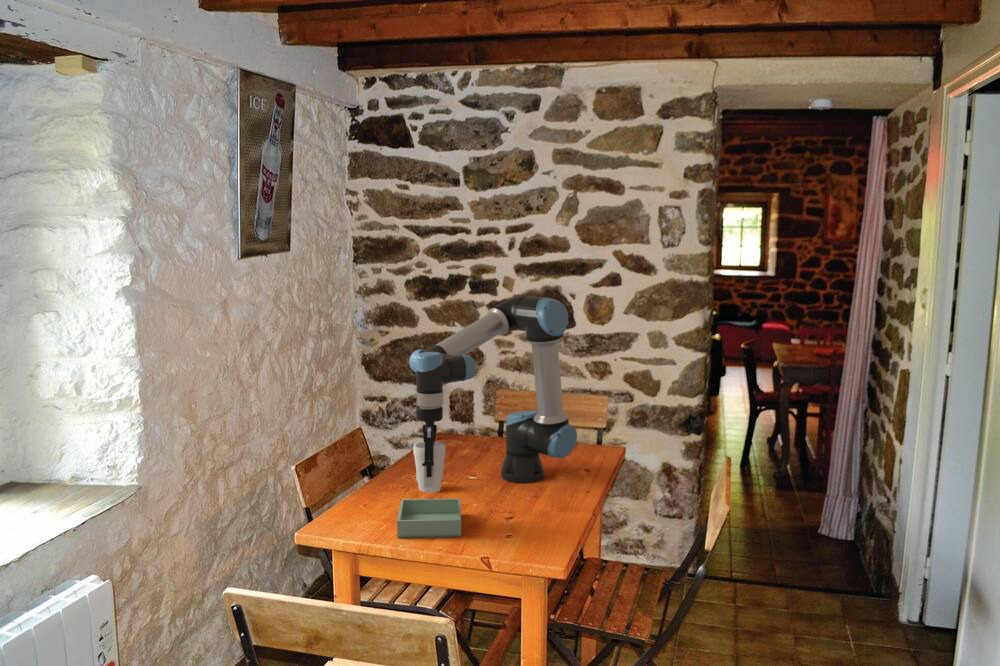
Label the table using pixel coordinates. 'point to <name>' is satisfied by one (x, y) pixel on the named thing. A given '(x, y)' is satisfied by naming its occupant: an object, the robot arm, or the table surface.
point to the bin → (429, 518)
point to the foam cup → (438, 461)
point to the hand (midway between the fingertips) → (429, 481)
